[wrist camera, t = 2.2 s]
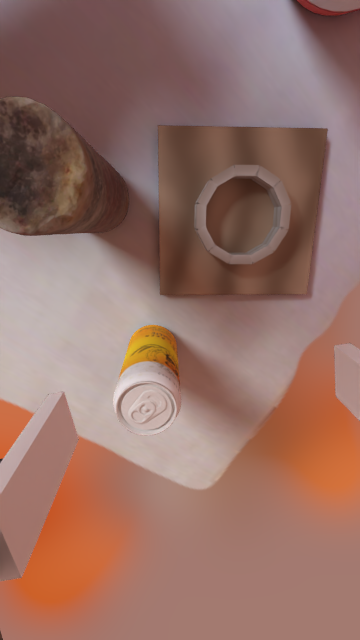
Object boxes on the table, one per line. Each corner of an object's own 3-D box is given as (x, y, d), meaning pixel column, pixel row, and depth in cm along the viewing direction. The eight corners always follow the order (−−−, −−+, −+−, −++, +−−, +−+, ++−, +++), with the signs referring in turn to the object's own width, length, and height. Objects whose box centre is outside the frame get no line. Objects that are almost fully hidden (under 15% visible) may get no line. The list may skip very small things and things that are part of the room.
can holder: (160, 292, 40) (159, 299, 36) (158, 128, 35) (157, 118, 31) (302, 292, 41) (315, 298, 37) (322, 131, 35) (339, 121, 32)
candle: (55, 167, 35) (-76, 105, 16) (120, 154, 35) (66, 76, 16) (75, 237, 38) (-20, 256, 18) (136, 225, 37) (105, 231, 18)
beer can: (186, 344, 42) (196, 408, 28) (153, 374, 43) (147, 451, 29) (152, 313, 41) (145, 364, 26) (120, 345, 42) (96, 410, 27)
